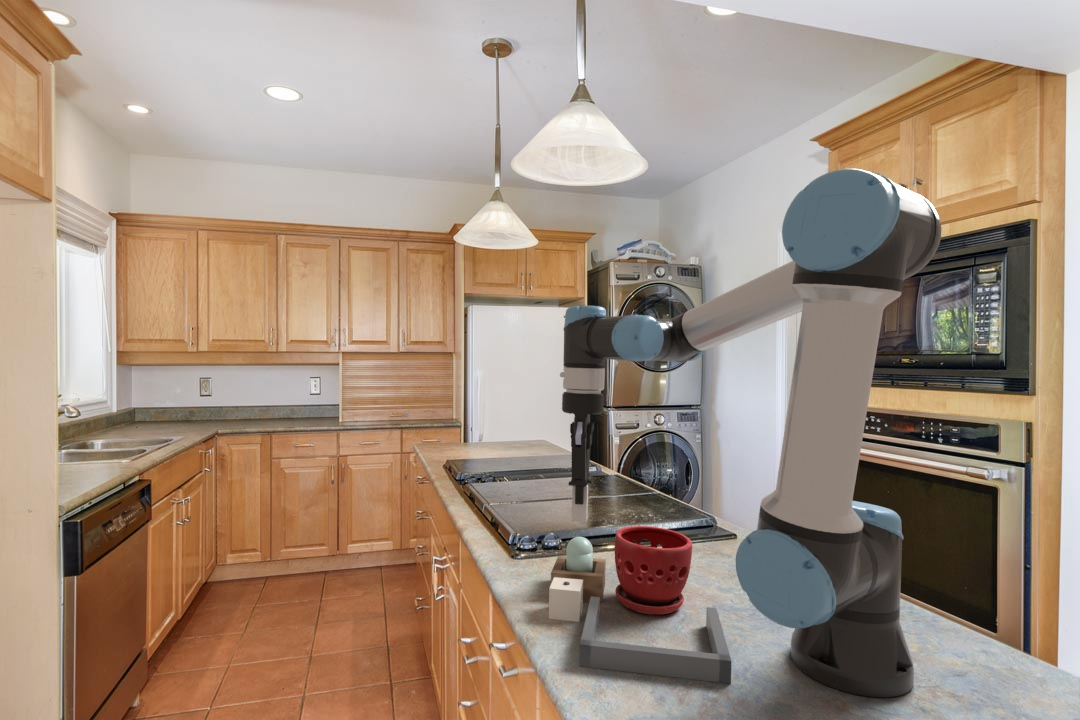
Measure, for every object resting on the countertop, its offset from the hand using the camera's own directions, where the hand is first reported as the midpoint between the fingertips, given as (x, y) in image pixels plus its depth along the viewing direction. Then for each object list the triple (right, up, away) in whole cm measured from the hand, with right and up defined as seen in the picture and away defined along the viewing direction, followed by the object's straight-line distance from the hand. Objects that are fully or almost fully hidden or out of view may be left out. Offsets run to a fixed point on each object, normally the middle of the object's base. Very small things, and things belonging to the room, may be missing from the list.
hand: (579, 520), depth 106 cm
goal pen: (+10, -13, -19) cm, 25 cm away
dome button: (0, -10, 0) cm, 10 cm away
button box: (0, -13, 0) cm, 13 cm away
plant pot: (+12, -13, -5) cm, 19 cm away
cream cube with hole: (-3, -13, -10) cm, 16 cm away
